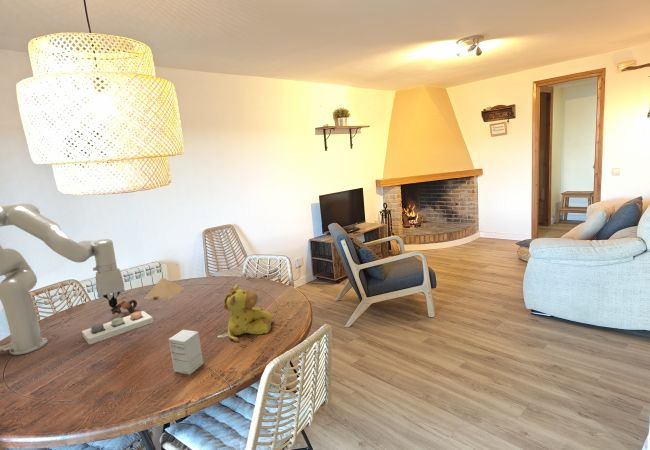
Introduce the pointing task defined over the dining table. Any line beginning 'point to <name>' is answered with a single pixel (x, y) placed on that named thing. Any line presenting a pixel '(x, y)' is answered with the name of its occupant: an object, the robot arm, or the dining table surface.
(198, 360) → the supplement box
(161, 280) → the model pyramid
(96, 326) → the button charcoal
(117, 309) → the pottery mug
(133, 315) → the button terracotta
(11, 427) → the dining table surface
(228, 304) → the giraffe plush
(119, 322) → the button sage
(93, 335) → the panel
